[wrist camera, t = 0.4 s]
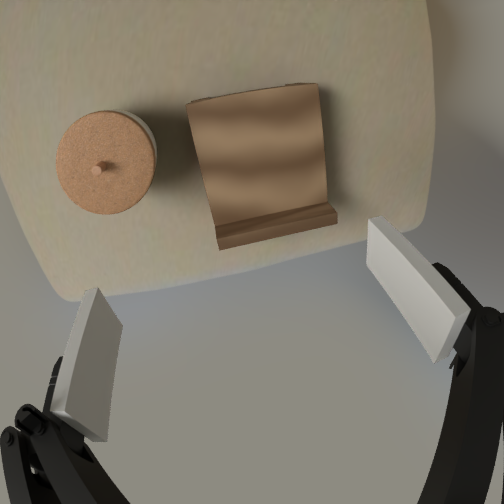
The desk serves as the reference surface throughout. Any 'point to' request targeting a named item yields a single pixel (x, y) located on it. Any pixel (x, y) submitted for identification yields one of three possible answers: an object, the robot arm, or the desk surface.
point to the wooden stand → (262, 162)
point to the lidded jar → (107, 161)
